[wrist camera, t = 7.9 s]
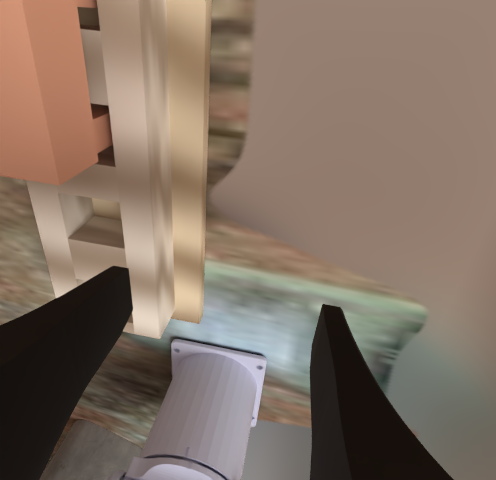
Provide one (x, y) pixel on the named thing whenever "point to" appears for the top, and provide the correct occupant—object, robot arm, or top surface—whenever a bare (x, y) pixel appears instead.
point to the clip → (47, 93)
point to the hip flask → (90, 454)
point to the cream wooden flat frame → (139, 162)
